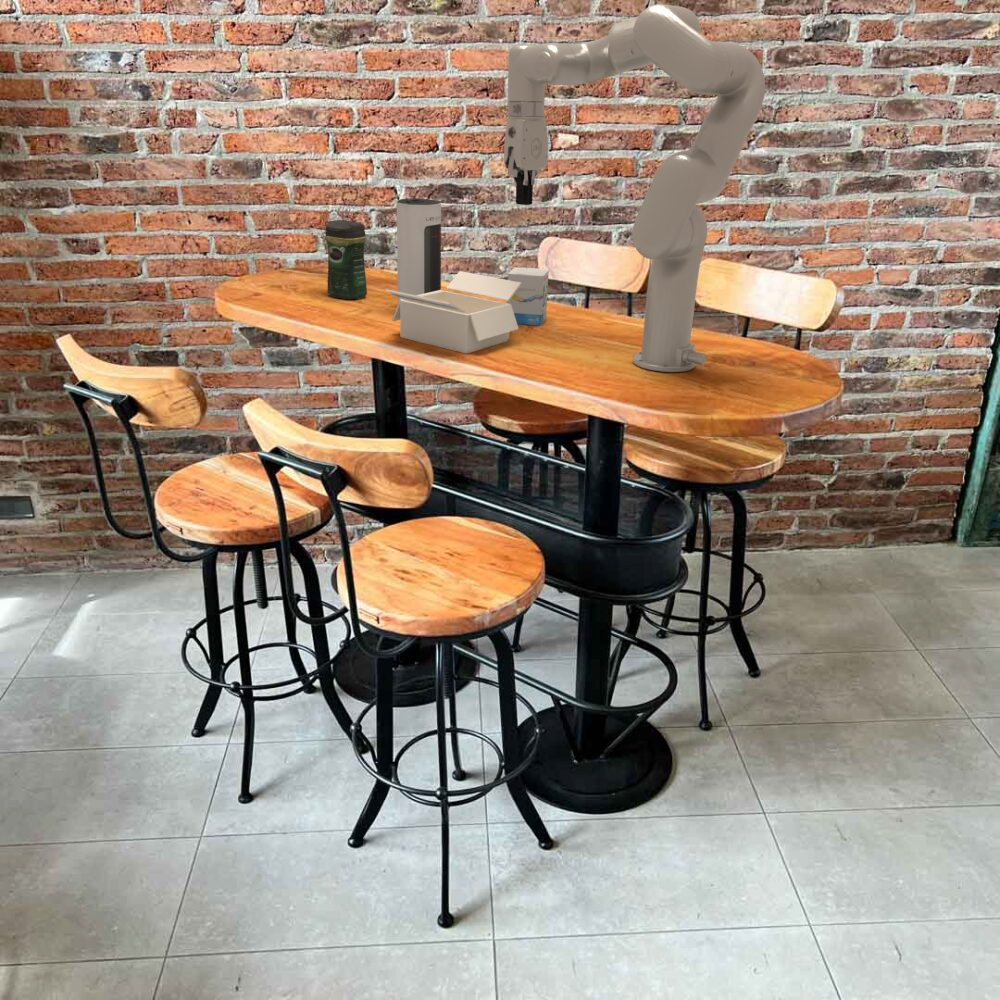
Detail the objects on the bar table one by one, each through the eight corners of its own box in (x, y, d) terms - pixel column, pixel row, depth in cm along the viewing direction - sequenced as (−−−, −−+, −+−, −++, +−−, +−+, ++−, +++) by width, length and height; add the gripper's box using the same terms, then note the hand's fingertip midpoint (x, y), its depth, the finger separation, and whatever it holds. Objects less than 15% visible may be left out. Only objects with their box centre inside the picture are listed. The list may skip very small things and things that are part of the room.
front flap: (465, 310, 198) (449, 302, 193) (464, 313, 198) (449, 304, 193) (402, 297, 207) (386, 289, 203) (401, 299, 207) (385, 291, 203)
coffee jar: (372, 296, 246) (371, 221, 239) (351, 301, 240) (349, 224, 233) (343, 291, 251) (341, 216, 244) (322, 295, 245) (319, 219, 238)
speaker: (413, 319, 226) (413, 203, 215) (387, 310, 233) (386, 197, 223) (449, 313, 233) (451, 200, 222) (423, 305, 240) (423, 195, 229)
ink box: (540, 326, 225) (543, 275, 220) (504, 323, 226) (506, 272, 221) (546, 318, 232) (549, 268, 228) (511, 315, 234) (513, 266, 229)
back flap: (508, 301, 209) (521, 284, 211) (507, 299, 208) (521, 282, 211) (447, 289, 218) (460, 272, 220) (446, 287, 218) (459, 271, 220)
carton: (519, 343, 210) (520, 305, 207) (477, 356, 199) (478, 316, 196) (434, 323, 223) (434, 287, 220) (390, 335, 213) (390, 297, 209)
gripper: (519, 112, 192) (517, 208, 200) (561, 111, 203) (558, 202, 211) (489, 111, 196) (488, 206, 204) (531, 110, 208) (529, 200, 215)
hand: (524, 204), depth 207 cm, fingers closed
